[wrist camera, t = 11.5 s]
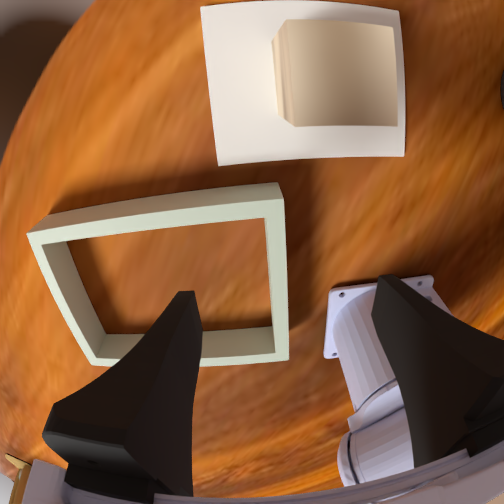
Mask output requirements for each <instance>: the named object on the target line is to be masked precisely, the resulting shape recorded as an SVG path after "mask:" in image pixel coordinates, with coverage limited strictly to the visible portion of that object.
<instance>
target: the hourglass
mask: <svg viewBox="0 0 504 504" xmlns="http://www.w3.org/2000/svg"><path fill="white" fill-rule="evenodd" d="M6 459H8V460H9V461H10V462H11V463H12V464H14V465H15V466H16V467H17V468H19V471H18V473H17V476H16V479H15V482H14V486H13V490H12V493H11V497H10V501H9V504H22V500H23V496H24V492H25V488H26V485H27V481H28V478H29V474H30V471H31V468H32V466H31V465H29V464H27V463H25V462H23V461H20V460H18V459H16V458H14V457H11V456H9V455H7V454H6Z"/></svg>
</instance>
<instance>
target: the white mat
mask: <svg viewBox="0 0 504 504" xmlns="http://www.w3.org/2000/svg"><path fill="white" fill-rule="evenodd" d="M200 9H201V19H202V29H203V39H204V49H205V58H206V67H207V77H208V85H209V94H210V103H211V111H212V120H213V128H214V136H215V144H216V152H217V160H218V166H224V165H233V164H243V163H253V162H265V161H277V160H291V159H308V158H329V157H367V156H400V157H404V149H405V75H404V57H403V44H402V34H401V24H400V16H399V11H396V10H391V9H385V8H379V7H373V6H366V5H358V4H349V3H339V2H326V1H303V0H275V1H252V2H239V3H228V4H219V5H211V6H204V7H200ZM286 19H310V20H333V21H347V22H357V23H366V24H374V25H381V26H388V27H393V33H394V43H395V55H396V71H397V99H398V127H392V126H306V127H294V126H293V125H292V124H290V123H289V122H288V121H286V120H285V119H283V118H282V117H281V116H279V115H278V110H277V98H276V86H275V75H274V64H273V54H272V43H271V41H272V40H273V38H274V36H275V35H276V33H277V32H278V30H279V29H280V27H281V26H282V24H283V23H284V21H285V20H286Z"/></svg>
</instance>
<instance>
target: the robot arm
mask: <svg viewBox="0 0 504 504" xmlns="http://www.w3.org/2000/svg"><path fill="white" fill-rule="evenodd" d="M418 282H419V283H418ZM433 282H434V278H433V277H432V276H431V275H426V276H419V277H412V278H406V279H399V278H397V277H396V276H394V275H393V274H390V275H380V276H379V277H378V282H377V283H370V284H362V285H354V286H346V287H338V288H333V289H331V290H330V292H329V298H328V311H327V323H326V334H325V344H324V357H325V358H336V357H339V359H340V362H341V366H342V369H343V372H344V376H345V379H346V383H347V386H348V390H349V393H350V396H351V400H352V404H353V407H354V411H355V414H354V415H352V416H350V417H349V418H348V423H349V427H350V431H349V432H347V433H346V434H344V436H343V437H342V439H341V441H340V446H339V449H338V456H337V460H338V468H339V473H340V476H341V479H342V482H343V484H344V486H345V487H341V488H336V489H330V490H324V491H318V492H311V493H303V494H295V495H285V496H273V497H256V498H203V497H193V482H192V414H193V402H194V395H195V389H196V383H197V377H198V372H199V366H200V360H201V354H202V337H203V328H202V324H201V320H200V315H199V311H198V306H197V302H196V297H195V293H194V291H179V292H178V293H177V294H176V295H175V297H174V298H173V299H172V301H171V302H170V303H169V305H168V306H167V307H166V309H165V310H164V311H163V313H162V314H161V315H160V317H159V318H158V319H157V320H156V322H155V323H154V324H153V325H152V327H151V328H150V329H149V330H148V331H147V333H146V334H145V335H144V336H143V337H142V338H141V339H140V341H139V342H138V343H137V344H136V345H135V346H134V347H133V348H132V349H131V350H130V351H129V352H128V353H127V354H126V355H125V356H124V357H123V358H122V359H120V360H119V361H118V362H117V363H116V364H115V365H113V366H112V367H111V368H110V369H108V370H107V371H106V372H105V373H103V374H102V375H101V376H99V377H98V378H97V379H95V380H94V381H92V382H91V383H89V384H88V385H86V386H85V387H83V388H82V389H80V390H78V391H77V392H75V393H73V394H71V395H69V396H67V397H66V398H64V399H62V400H60V401H58V402H56V403H54V404H53V407H52V409H51V411H50V414H49V417H48V419H47V422H46V425H45V427H44V430H43V433H42V437H43V439H44V441H45V443H46V444H47V445H48V446H49V447H50V448H51V449H52V450H53V451H55V452H56V453H57V454H58V455H59V456H60V457H62V458H63V459H64V460H65V461H67V462H68V463H69V464H68V468H67V470H65V469H64V468H61V467H59V466H56V465H53V464H50V463H47V462H44V461H41V460H38V459H34V461H33V465H32V468H31V471H30V474H29V478H28V481H27V485H26V488H25V492H24V496H23V500H22V504H486V503H487V502H489V501H491V500H493V499H494V498H496V497H497V496H499V495H501V494H502V493H504V340H502V339H499V338H496V337H494V336H491V335H489V334H486V333H484V332H482V331H480V330H478V329H476V328H474V327H472V326H470V325H468V324H466V323H464V322H462V321H461V320H459V319H457V318H455V317H454V316H453V315H452V313H451V312H450V311H449V309H448V308H447V306H446V305H445V304H444V302H443V301H442V300H441V298H440V297H439V295H438V294H437V293H436V291H435V290H434V289H433V287H432V286H433ZM342 292H344V293H343V294H341V295H340V293H342Z"/></svg>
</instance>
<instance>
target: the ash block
mask: <svg viewBox="0 0 504 504" xmlns="http://www.w3.org/2000/svg"><path fill="white" fill-rule="evenodd" d="M271 43H272V54H273V64H274V75H275V86H276V98H277V110H278V115H279V116H281V117H282V118H283V119H285V120H286V121H288V122H289V123H290V124H292V125H293V126H294V127H306V126H392V127H398V99H397V71H396V55H395V43H394V33H393V27H388V26H381V25H374V24H366V23H357V22H347V21H333V20H310V19H286V20H285V21H284V23H283V24H282V26H281V27H280V29H279V30H278V32H277V33H276V35H275V36H274V38H273V40H272V41H271Z"/></svg>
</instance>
